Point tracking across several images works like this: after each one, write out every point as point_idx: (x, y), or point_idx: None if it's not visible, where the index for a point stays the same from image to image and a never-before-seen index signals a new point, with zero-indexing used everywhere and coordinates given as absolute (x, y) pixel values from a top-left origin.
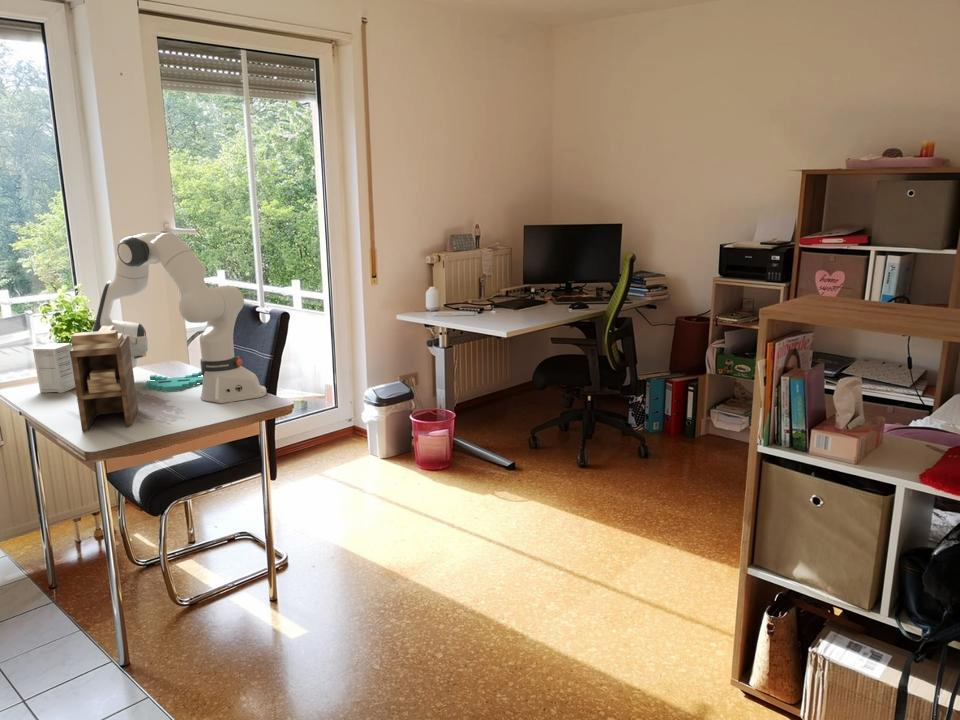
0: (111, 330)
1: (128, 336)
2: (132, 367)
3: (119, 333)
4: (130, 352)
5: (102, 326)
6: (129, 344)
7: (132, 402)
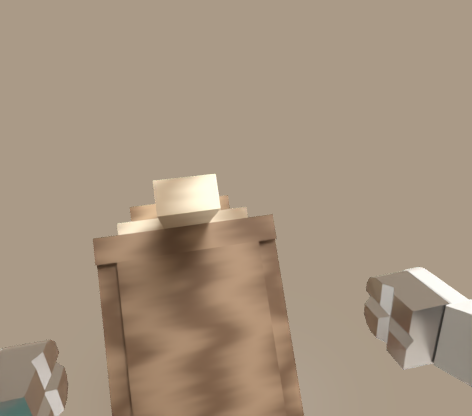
0: (143, 205)
1: (95, 246)
2: (110, 391)
3: (127, 222)
4: (103, 318)
5: (212, 176)
6: (99, 282)
7: None
